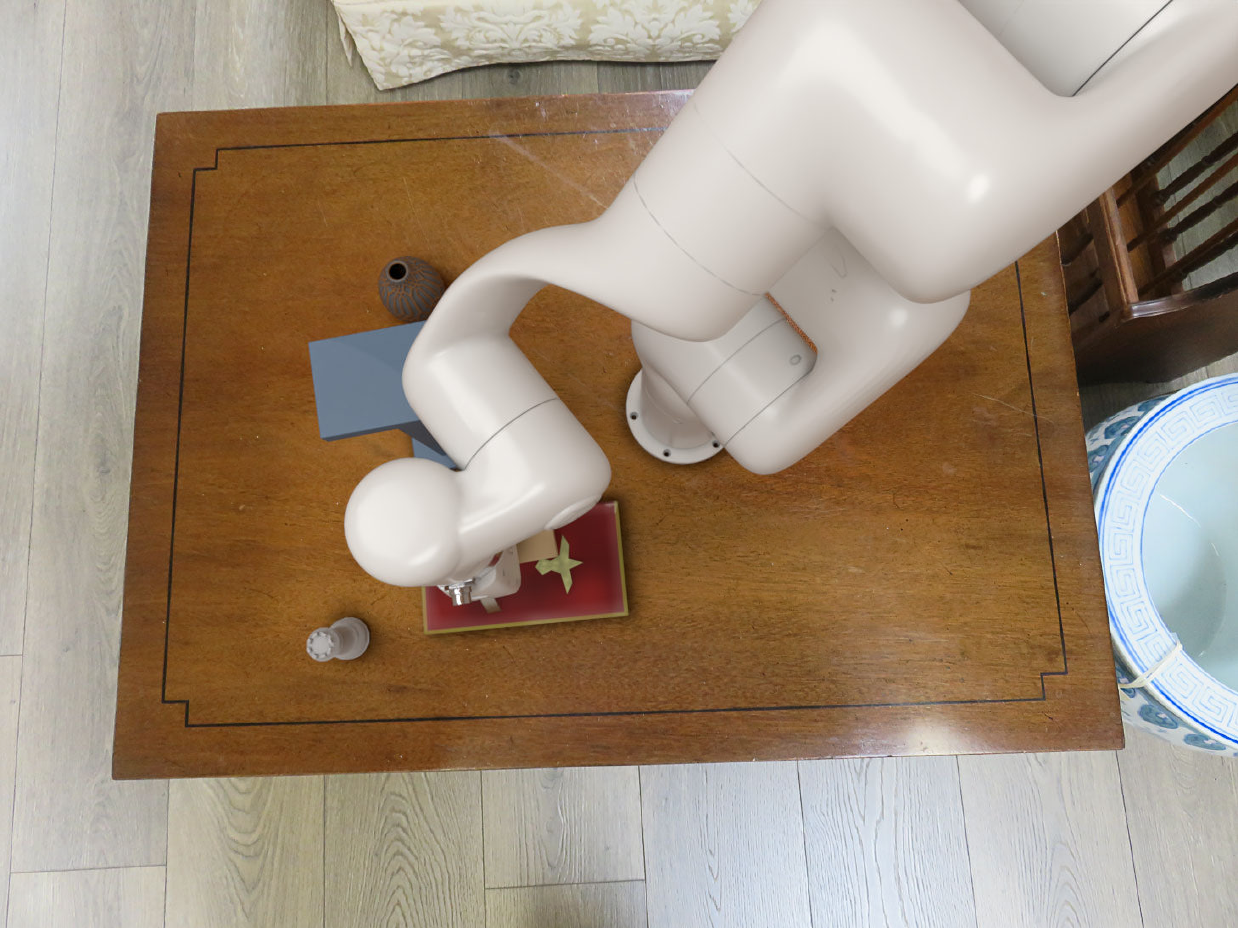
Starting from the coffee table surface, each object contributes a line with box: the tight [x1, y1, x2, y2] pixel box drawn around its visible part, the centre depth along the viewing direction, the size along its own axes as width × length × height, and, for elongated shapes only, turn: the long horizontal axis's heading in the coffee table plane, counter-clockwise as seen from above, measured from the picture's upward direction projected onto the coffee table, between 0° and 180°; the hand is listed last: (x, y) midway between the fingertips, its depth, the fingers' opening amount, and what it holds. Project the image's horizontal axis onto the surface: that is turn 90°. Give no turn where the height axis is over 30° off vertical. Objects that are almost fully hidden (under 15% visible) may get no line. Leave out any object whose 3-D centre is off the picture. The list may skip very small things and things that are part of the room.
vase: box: [377, 255, 446, 324], centre depth 79 cm, size 7×7×9 cm
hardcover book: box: [420, 500, 629, 636], centre depth 77 cm, size 12×21×4 cm, turn 95°
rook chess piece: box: [306, 616, 370, 662], centre depth 74 cm, size 4×4×8 cm
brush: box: [516, 529, 558, 564], centre depth 70 cm, size 11×4×10 cm, turn 100°
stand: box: [307, 320, 459, 471], centre depth 69 cm, size 14×8×24 cm, turn 101°
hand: (497, 543), depth 70 cm, fingers closed on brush, 2 cm apart
